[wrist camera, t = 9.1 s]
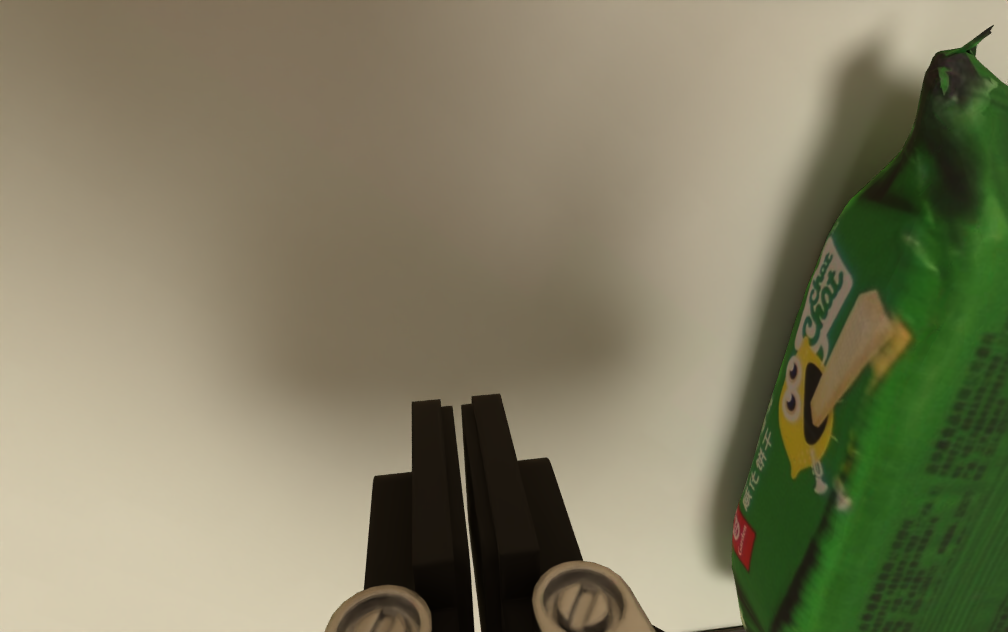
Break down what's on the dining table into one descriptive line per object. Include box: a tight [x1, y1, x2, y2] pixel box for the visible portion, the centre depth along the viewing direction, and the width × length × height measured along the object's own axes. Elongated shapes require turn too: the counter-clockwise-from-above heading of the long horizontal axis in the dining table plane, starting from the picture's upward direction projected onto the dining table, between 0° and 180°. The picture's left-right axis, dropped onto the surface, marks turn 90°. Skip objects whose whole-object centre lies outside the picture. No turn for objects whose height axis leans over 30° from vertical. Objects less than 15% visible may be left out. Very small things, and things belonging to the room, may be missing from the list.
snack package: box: [732, 25, 1008, 632], centre depth 14 cm, size 7×16×5 cm, turn 173°
